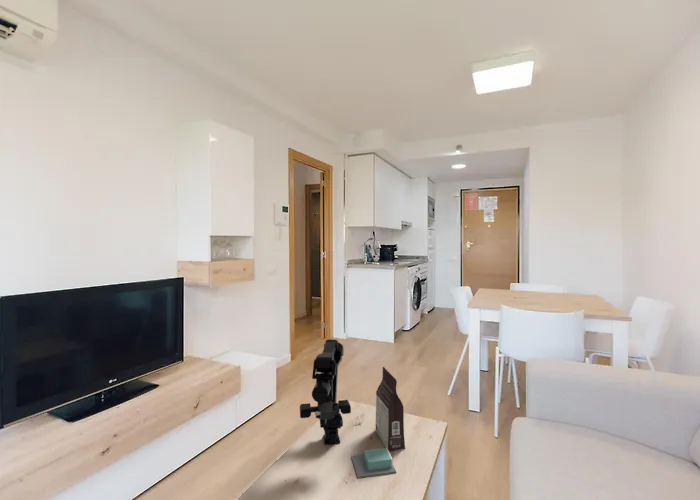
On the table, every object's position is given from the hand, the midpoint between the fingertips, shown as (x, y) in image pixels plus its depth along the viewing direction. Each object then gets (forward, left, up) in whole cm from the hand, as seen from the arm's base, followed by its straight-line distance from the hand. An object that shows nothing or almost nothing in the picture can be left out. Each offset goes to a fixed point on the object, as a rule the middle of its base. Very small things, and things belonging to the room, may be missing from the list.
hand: (325, 430), depth 132 cm
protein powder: (-10, +28, -12) cm, 32 cm away
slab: (+5, +15, -10) cm, 18 cm away
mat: (+5, +17, -12) cm, 21 cm away
